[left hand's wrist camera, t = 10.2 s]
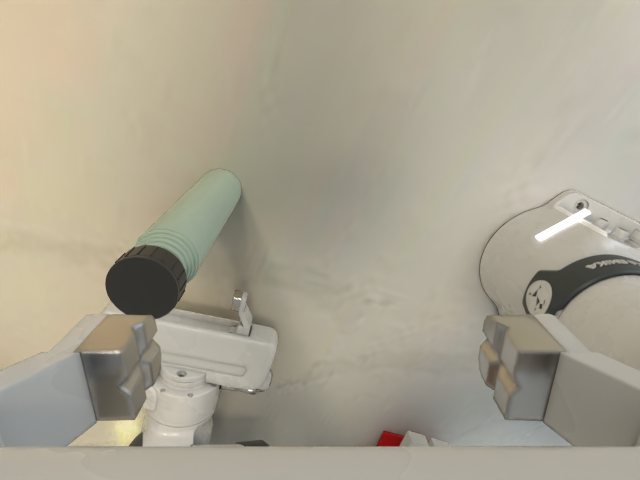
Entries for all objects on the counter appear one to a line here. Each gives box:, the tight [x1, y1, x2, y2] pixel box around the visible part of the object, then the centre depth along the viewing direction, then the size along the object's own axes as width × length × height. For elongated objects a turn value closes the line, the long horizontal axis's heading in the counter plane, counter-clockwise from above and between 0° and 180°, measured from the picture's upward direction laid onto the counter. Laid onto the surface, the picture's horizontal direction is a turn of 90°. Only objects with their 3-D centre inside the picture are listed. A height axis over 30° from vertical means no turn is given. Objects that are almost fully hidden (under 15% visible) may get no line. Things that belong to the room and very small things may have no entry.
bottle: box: [134, 169, 241, 283], centre depth 37 cm, size 5×5×23 cm
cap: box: [106, 245, 187, 319], centre depth 27 cm, size 4×5×2 cm
